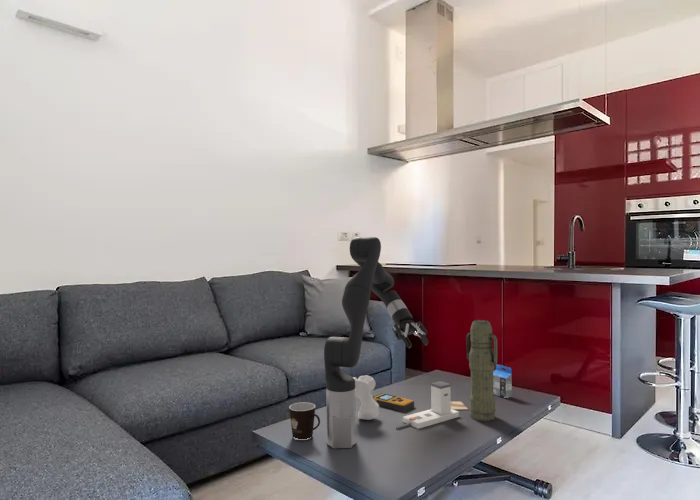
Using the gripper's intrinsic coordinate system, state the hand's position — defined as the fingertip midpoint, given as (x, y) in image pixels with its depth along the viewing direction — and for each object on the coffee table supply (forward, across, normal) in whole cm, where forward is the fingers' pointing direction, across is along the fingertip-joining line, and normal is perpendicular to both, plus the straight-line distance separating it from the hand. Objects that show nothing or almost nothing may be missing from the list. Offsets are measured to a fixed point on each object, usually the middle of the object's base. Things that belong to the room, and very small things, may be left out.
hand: (418, 345), depth 174 cm
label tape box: (+23, +38, +12) cm, 46 cm away
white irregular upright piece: (+15, -25, +19) cm, 35 cm away
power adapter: (+25, 0, +9) cm, 27 cm away
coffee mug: (+18, -51, +16) cm, 56 cm away
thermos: (+32, +12, +2) cm, 34 cm away
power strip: (+25, -8, +9) cm, 28 cm away
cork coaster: (+22, +12, +13) cm, 27 cm away
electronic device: (+12, -7, +23) cm, 27 cm away
